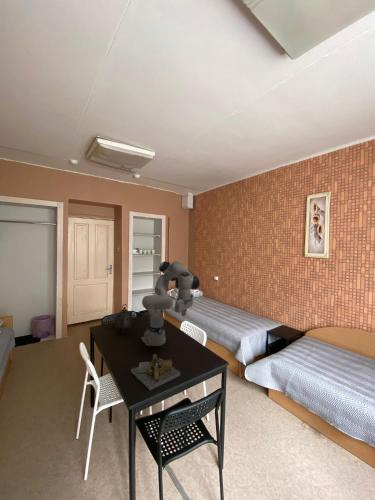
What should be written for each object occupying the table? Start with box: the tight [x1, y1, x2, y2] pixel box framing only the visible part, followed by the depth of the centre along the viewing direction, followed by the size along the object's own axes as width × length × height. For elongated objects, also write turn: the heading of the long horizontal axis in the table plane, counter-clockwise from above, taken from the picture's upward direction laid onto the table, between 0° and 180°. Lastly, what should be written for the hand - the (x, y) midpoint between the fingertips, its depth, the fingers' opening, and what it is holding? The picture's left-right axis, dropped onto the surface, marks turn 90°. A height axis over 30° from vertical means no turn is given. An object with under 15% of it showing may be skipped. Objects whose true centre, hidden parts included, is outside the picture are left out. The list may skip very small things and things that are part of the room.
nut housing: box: [130, 357, 181, 391], centre depth 133 cm, size 22×22×7 cm
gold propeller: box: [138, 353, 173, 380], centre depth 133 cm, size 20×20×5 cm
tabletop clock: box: [115, 303, 133, 334], centre depth 202 cm, size 14×9×25 cm, turn 162°
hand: (183, 315), depth 152 cm, fingers closed
